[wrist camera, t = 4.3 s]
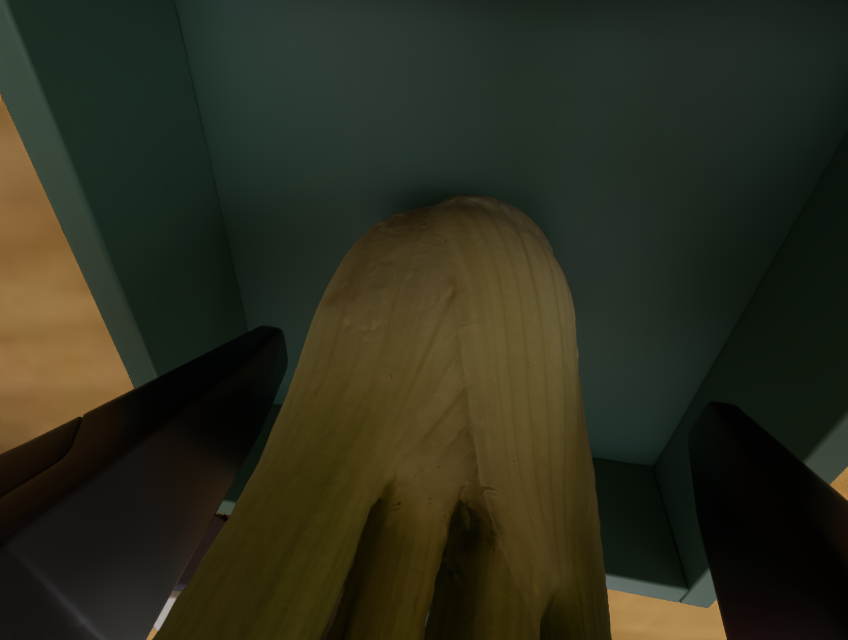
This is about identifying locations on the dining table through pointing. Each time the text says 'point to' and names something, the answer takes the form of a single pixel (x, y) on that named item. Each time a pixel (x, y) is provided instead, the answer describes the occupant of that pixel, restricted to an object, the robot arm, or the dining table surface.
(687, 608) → the dining table surface
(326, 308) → the fennel bulb
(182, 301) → the tote
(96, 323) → the dining table surface
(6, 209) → the dining table surface
